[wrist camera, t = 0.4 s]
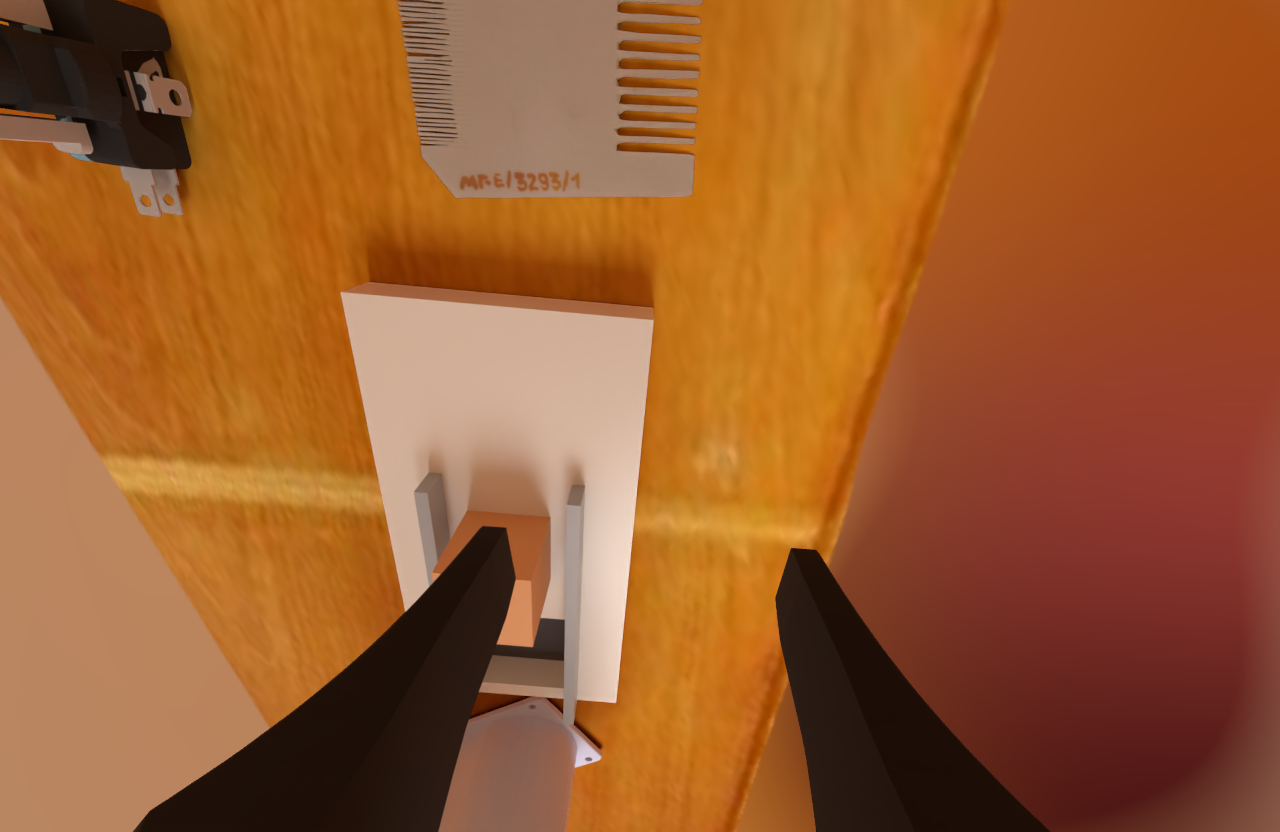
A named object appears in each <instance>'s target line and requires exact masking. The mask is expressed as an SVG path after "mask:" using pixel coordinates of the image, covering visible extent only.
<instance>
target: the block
mask: <svg viewBox="0 0 1280 832" xmlns="http://www.w3.org/2000/svg"><path fill="white" fill-rule="evenodd" d="M482 526H492V527H505V528H507V534H508V539H509V544H510V549H511V555H512V560H513V565H514V570H515V576H516V581H515V585H514V589H513V593H512V597H511V601H510V605H509V609H508V613H507V617H506V620H505V623H504V625H503V628H502V631H501V634H500V636H499V639H498V642H497V644H500V645H513V646H525V647H533V645H534V641H535V637H536V634H537V630H538V626H539V622H540V618H541V614H542V610H543V607H544V603H545V599H546V595H547V591H548V587H549V584H550V580H551V517H541V516H529V515H517V514H505V513H494V512H482V511H470V510H467V511H466V513H465V515H464V517H463V518H462V520H461V522H460V524H459V526H458V527H457V529H456V531H455V533H454V534H453V536H452V538H451V540H450V541H449V543H448V545H447V547H446V548H445V550H444V552H443V554H442V556H441V557H440V559H439V561H438V563H437V564H436V566H435V568H434V570H433V571H432V578H433V582H434V581H435V580H436V579H437V578H438V577H439V575H440V574H441V573H442V572H443V571H444V570H445V569H446V568H447V566H448V565H449V564H450V563H451V562H452V561H453V560H454V558H455V557H456V556H457V555H458V554H459V553H460V551H461V550H462V549H463V548H464V547H465V545H466V544H467V543H468V542H469V541H470V539H471V538H472V537H473V536H474V535H475V533H476V532H477V531H478V530H479V529H480V528H481V527H482Z"/></svg>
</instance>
